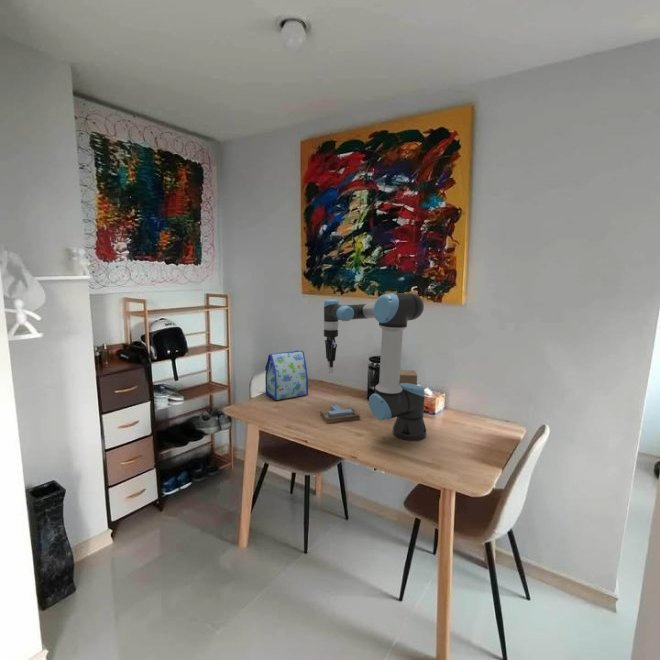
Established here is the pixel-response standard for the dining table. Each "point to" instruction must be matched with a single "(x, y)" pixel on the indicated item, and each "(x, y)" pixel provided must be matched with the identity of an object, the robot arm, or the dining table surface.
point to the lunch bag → (286, 375)
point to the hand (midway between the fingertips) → (330, 372)
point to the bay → (340, 417)
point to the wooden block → (408, 377)
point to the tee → (338, 411)
